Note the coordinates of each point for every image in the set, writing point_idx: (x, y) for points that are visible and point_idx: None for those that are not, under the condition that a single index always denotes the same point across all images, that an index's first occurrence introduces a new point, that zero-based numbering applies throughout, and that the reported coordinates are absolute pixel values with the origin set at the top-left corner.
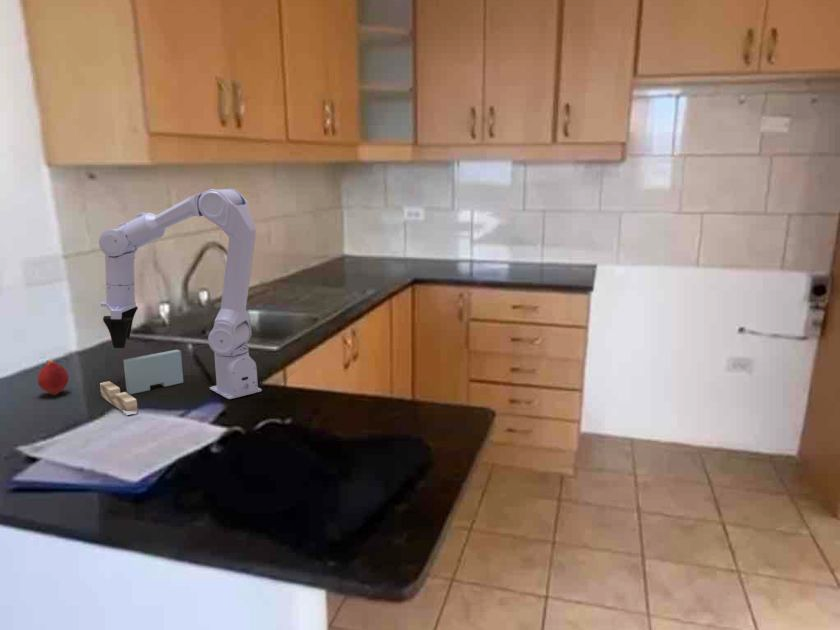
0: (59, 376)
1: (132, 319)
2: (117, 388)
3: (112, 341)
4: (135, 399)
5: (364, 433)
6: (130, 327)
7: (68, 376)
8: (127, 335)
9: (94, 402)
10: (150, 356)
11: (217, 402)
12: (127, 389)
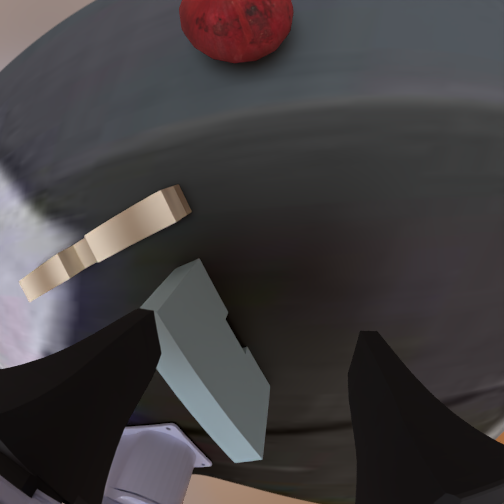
0: (189, 37)
1: (356, 491)
2: (96, 256)
3: (111, 326)
4: (29, 300)
5: None
6: (354, 436)
7: (252, 57)
8: (350, 382)
9: (129, 174)
10: (187, 398)
11: None
12: (187, 265)
